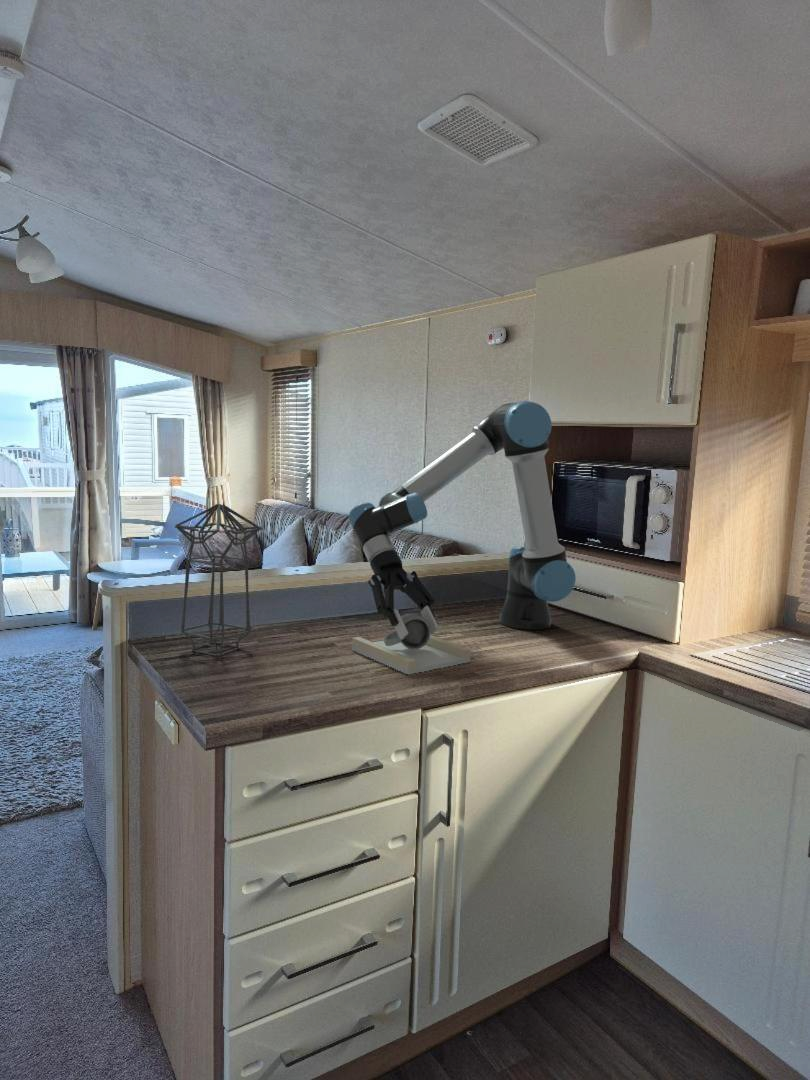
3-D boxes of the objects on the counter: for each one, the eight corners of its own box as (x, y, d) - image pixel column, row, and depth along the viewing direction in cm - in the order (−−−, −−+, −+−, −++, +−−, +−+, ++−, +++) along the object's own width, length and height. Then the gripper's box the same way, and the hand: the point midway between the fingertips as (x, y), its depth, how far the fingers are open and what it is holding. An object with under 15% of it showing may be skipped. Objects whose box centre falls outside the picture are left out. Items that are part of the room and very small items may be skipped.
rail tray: (411, 640, 189) (412, 628, 188) (469, 662, 172) (470, 649, 171) (352, 650, 177) (352, 637, 176) (407, 675, 160) (408, 661, 159)
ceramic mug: (422, 640, 180) (423, 609, 179) (430, 649, 172) (431, 618, 171) (380, 641, 178) (381, 610, 176) (386, 650, 170) (387, 618, 169)
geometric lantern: (167, 651, 169) (169, 502, 165) (214, 638, 183) (217, 501, 179) (219, 663, 162) (222, 507, 158) (263, 648, 175) (267, 505, 172)
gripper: (409, 563, 190) (445, 636, 180) (340, 569, 177) (376, 648, 167) (423, 546, 185) (461, 620, 175) (354, 550, 172) (391, 631, 162)
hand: (420, 633), depth 171 cm, fingers closed on ceramic mug, 9 cm apart
